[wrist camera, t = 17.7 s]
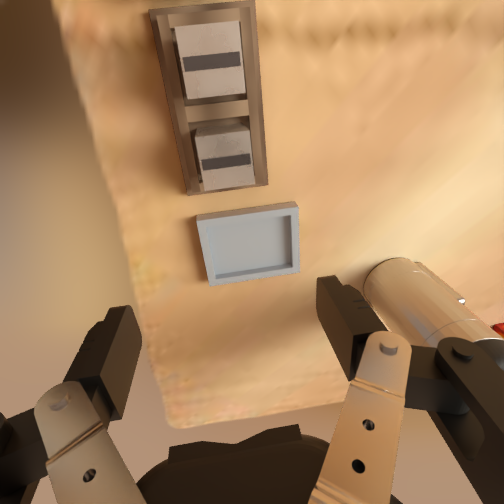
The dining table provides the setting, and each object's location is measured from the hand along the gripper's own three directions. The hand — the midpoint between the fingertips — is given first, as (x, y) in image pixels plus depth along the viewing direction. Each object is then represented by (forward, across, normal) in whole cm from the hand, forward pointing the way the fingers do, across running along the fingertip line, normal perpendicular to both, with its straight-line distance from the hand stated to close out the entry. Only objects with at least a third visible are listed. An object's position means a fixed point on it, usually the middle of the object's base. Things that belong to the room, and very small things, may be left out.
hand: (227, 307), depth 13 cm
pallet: (+27, -1, -6) cm, 27 cm away
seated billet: (+26, -1, -10) cm, 28 cm away
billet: (+26, -1, -2) cm, 26 cm away
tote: (+27, -3, +10) cm, 29 cm away
